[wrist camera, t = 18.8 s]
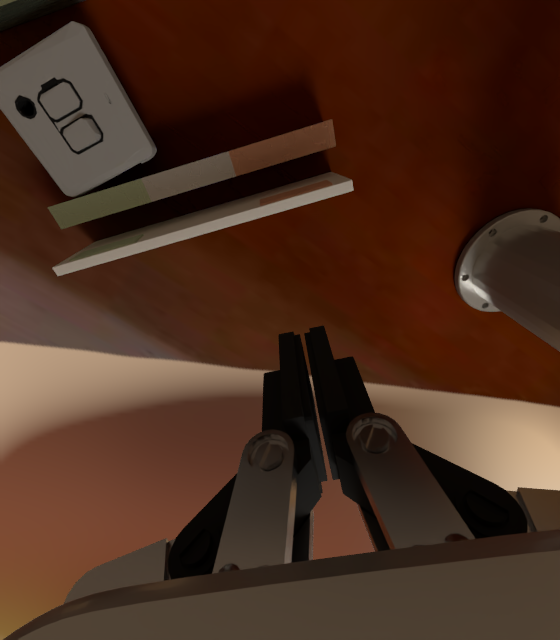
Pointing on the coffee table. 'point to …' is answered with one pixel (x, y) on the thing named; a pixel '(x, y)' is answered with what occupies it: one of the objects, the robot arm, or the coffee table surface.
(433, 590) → the robot arm
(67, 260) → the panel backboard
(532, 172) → the coffee table surface
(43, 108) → the electrical switch
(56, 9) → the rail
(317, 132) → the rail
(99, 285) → the coffee table surface
